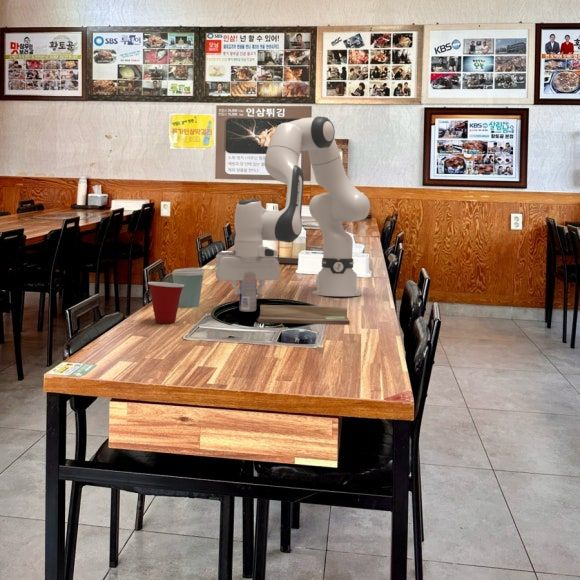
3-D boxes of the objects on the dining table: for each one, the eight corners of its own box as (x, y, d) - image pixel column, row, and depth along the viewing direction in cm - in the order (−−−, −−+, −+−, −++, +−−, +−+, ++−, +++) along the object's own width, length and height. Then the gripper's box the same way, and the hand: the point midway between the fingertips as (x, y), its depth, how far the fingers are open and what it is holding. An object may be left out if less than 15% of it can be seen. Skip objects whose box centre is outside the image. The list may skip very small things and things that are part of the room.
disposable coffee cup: (180, 315, 214) (180, 269, 212) (166, 311, 222) (166, 267, 221) (209, 313, 220) (209, 268, 219) (194, 309, 229) (194, 266, 227)
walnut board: (260, 317, 213) (260, 304, 213) (346, 319, 213) (346, 306, 212) (258, 322, 201) (258, 309, 201) (349, 324, 201) (349, 311, 200)
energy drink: (247, 309, 212) (247, 271, 210) (259, 310, 208) (260, 272, 207) (235, 310, 208) (236, 272, 206) (247, 312, 204) (248, 273, 203)
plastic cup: (187, 324, 194) (187, 283, 193) (149, 325, 190) (149, 284, 189) (181, 319, 204) (181, 280, 203) (146, 320, 201) (146, 281, 199)
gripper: (218, 251, 200) (217, 296, 201) (281, 251, 206) (281, 295, 208) (213, 250, 206) (213, 294, 207) (275, 250, 212) (275, 293, 214)
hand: (247, 294), depth 207 cm, fingers closed on energy drink, 5 cm apart
